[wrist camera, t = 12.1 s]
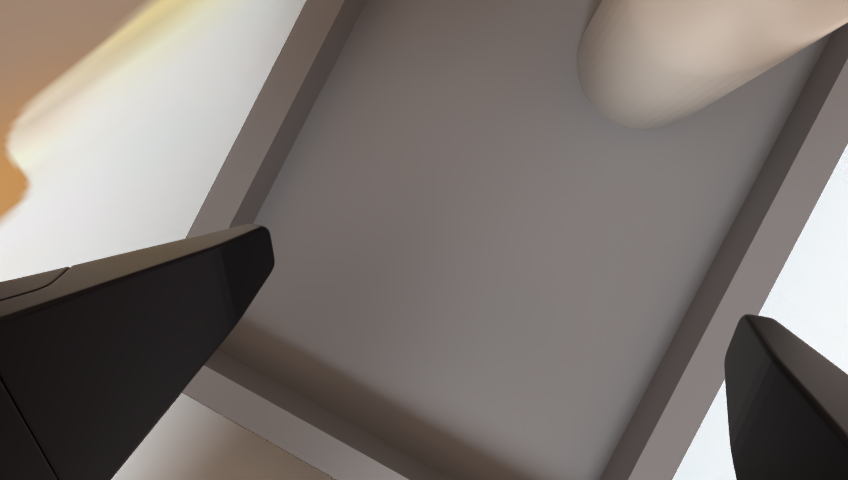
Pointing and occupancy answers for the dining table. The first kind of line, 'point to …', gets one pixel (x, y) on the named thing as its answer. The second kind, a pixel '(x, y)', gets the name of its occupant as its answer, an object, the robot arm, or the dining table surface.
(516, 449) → the tray
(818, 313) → the dining table surface
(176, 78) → the dining table surface
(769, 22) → the canister
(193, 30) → the dining table surface
